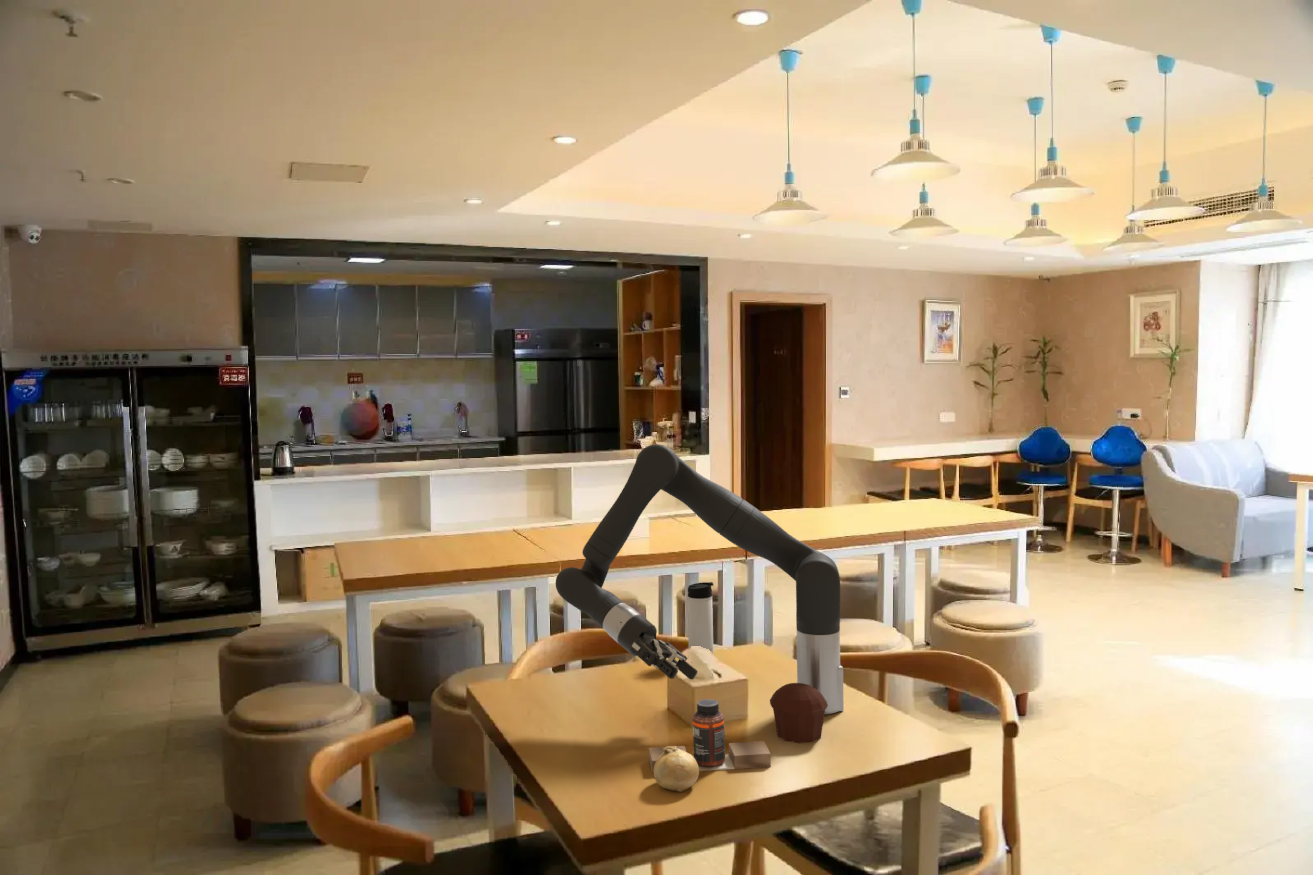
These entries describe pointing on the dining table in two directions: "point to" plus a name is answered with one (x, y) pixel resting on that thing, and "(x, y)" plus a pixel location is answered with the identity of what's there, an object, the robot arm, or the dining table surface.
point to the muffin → (798, 712)
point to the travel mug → (700, 615)
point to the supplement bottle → (708, 734)
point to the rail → (730, 756)
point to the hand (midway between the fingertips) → (685, 675)
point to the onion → (676, 769)
